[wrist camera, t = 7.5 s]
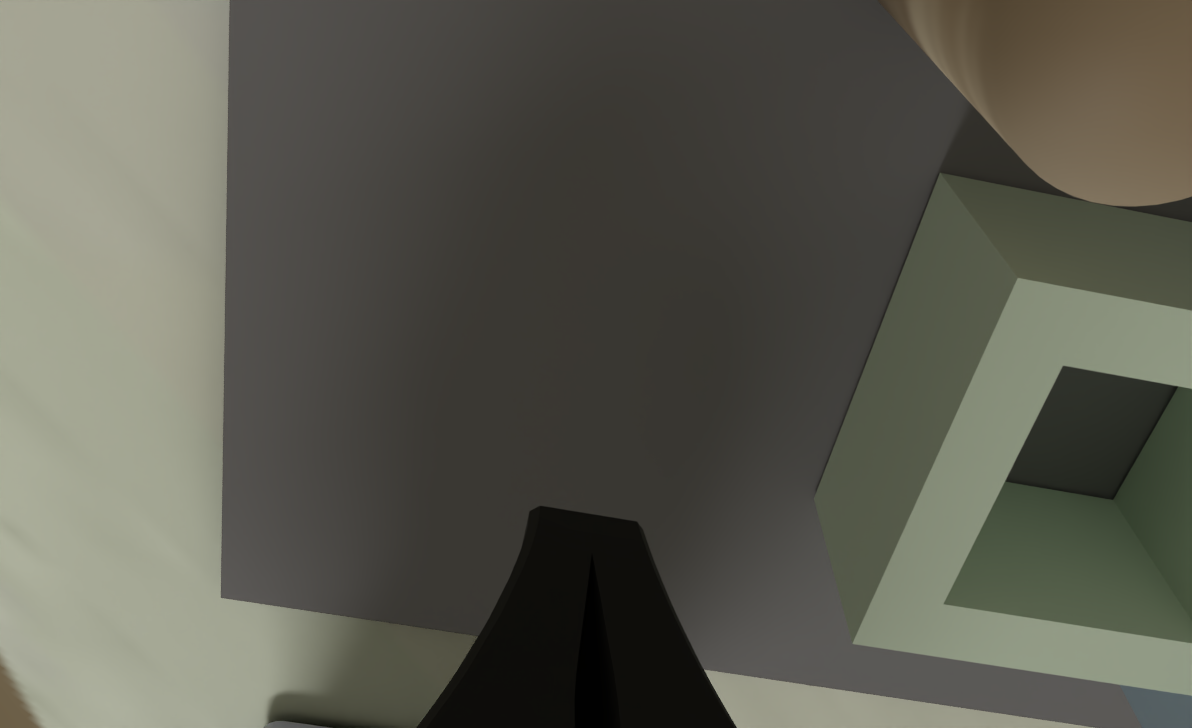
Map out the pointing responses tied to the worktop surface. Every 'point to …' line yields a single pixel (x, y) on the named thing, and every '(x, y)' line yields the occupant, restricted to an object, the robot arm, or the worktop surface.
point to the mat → (597, 311)
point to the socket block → (1018, 445)
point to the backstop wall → (1159, 707)
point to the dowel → (1074, 86)
